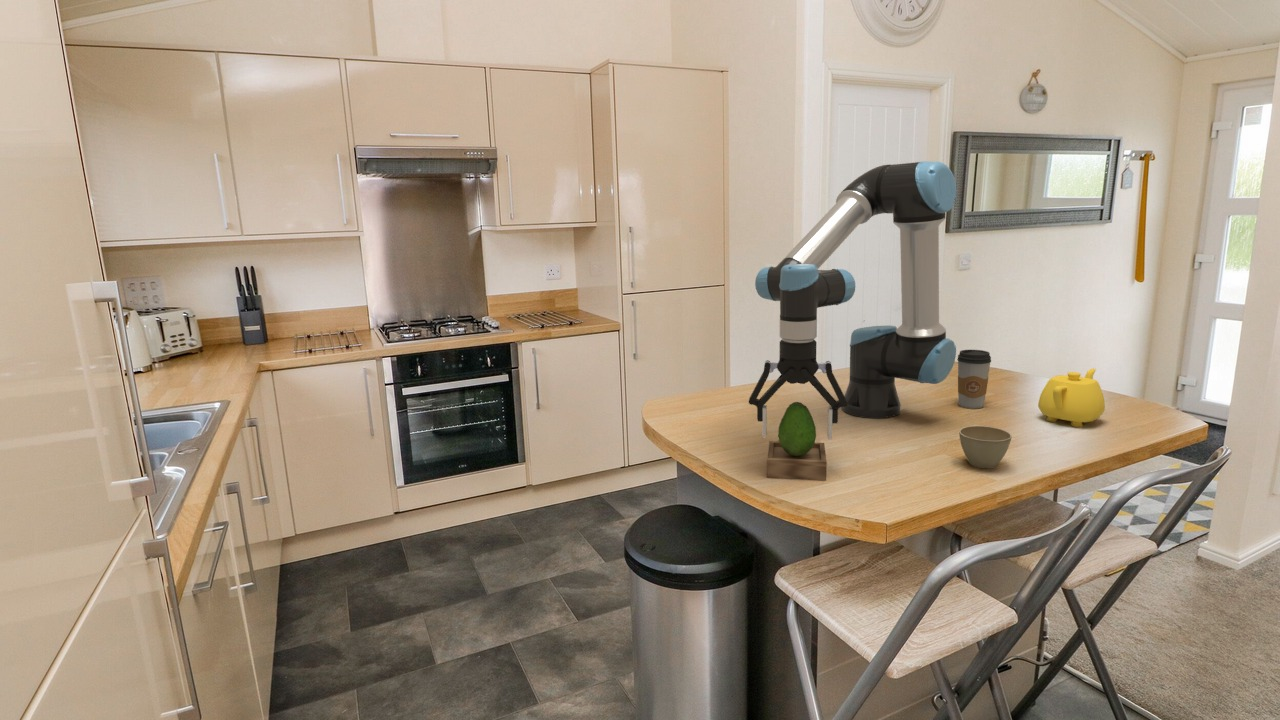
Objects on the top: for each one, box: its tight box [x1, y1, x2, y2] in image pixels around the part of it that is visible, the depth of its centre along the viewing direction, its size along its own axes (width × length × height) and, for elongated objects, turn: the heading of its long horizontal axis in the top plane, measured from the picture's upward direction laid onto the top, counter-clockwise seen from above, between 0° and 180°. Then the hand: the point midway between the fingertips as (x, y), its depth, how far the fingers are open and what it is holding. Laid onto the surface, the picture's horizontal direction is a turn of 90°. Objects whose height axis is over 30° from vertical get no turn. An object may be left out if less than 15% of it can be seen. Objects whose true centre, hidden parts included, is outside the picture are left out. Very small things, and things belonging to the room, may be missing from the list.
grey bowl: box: [958, 425, 1012, 469], centre depth 148 cm, size 10×10×7 cm
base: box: [766, 440, 828, 481], centre depth 150 cm, size 12×12×4 cm
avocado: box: [777, 401, 817, 456], centre depth 149 cm, size 8×8×12 cm
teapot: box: [1037, 367, 1106, 428], centre depth 175 cm, size 13×20×12 cm
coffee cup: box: [956, 349, 992, 410], centre depth 190 cm, size 8×8×15 cm
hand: (796, 436), depth 149 cm, fingers open, 13 cm apart
